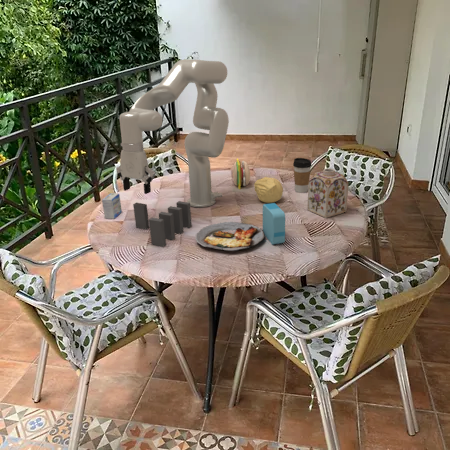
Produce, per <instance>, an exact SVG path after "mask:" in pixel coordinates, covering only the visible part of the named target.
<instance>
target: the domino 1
mask: <svg viewBox="0 0 450 450" xmlns="http://www.w3.org/2000/svg"><path fill="white" fill-rule="evenodd" d="M132 206H133V214H134V221H135V228H136V229H140V230H148V229H150V226H149V214H148V213H149V211H148V205H147V203H141V202H134V203H133V205H132Z"/></svg>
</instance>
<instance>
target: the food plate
mask: <svg viewBox="0 0 450 450" xmlns="http://www.w3.org/2000/svg"><path fill="white" fill-rule="evenodd" d="M230 231H231V232H230ZM265 238H266V236H265V234H264V231H263V228H260V227H258V226H256V225H253V224H251V223H245V222H244V223H243V222H236V221H223V222H218V223H213V224H208V226H207V225H206V226H205V227H203V228H201V229H200V230H199V231H198V232H197V233H196V234H195V241H196V243H198V244H199V245H201V246H202V247H205V248H211V249H216V250H224V251H231V252H232V251H235V252H236V251H240V250H246V249H251V248H252V247H255V246H257V245H258V244H260V243H261V242H262V241H263V240H264V239H265Z"/></svg>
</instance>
